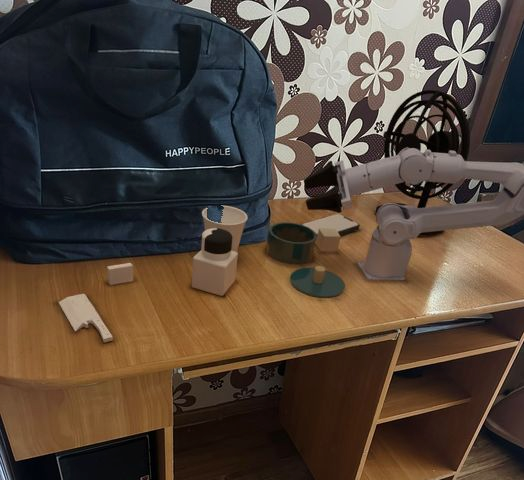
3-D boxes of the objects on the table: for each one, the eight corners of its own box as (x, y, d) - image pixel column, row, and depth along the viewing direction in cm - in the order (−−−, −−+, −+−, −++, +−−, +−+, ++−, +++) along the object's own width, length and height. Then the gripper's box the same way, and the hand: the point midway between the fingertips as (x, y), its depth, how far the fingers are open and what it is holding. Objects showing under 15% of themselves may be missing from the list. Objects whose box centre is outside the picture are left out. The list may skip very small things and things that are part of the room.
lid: (334, 271, 118) (338, 255, 115) (351, 300, 109) (356, 283, 106) (284, 271, 115) (287, 254, 113) (297, 300, 106) (300, 282, 103)
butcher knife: (83, 348, 85) (83, 342, 85) (58, 303, 95) (57, 298, 94) (113, 340, 88) (112, 335, 87) (86, 297, 97) (85, 292, 96)
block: (331, 245, 129) (335, 228, 126) (336, 253, 126) (340, 236, 123) (315, 244, 128) (318, 228, 125) (320, 253, 125) (323, 236, 122)
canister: (305, 244, 127) (309, 223, 124) (317, 266, 119) (322, 244, 115) (262, 243, 125) (265, 221, 121) (271, 266, 116) (275, 242, 113)
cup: (236, 274, 111) (241, 228, 105) (193, 265, 112) (195, 218, 106) (246, 254, 119) (252, 210, 113) (206, 246, 120) (209, 202, 113)
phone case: (321, 243, 130) (360, 230, 139) (322, 237, 129) (362, 224, 138) (297, 229, 135) (337, 217, 144) (298, 224, 134) (338, 212, 143)
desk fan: (353, 207, 152) (384, 78, 130) (393, 200, 161) (429, 78, 139) (421, 246, 135) (469, 106, 114) (461, 236, 144) (513, 104, 123)
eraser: (108, 282, 102) (107, 266, 100) (131, 278, 105) (130, 262, 103) (110, 285, 102) (109, 269, 99) (133, 281, 104) (133, 265, 102)
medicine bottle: (235, 281, 109) (240, 230, 102) (222, 297, 103) (227, 243, 96) (205, 273, 110) (208, 221, 103) (191, 287, 105) (193, 234, 97)
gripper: (360, 142, 108) (299, 160, 112) (370, 182, 100) (303, 200, 103) (365, 170, 114) (306, 186, 117) (374, 210, 105) (311, 226, 108)
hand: (305, 194), depth 110 cm, fingers open, 7 cm apart
